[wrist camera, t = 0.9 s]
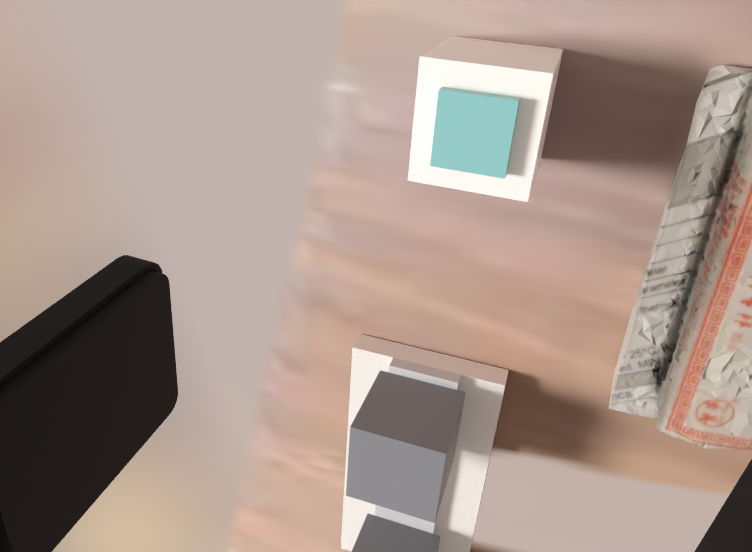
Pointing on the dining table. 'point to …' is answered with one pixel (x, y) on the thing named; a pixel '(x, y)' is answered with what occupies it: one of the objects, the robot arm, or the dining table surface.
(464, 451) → the rail board
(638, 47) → the dining table surface
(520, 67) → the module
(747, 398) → the packaged product
